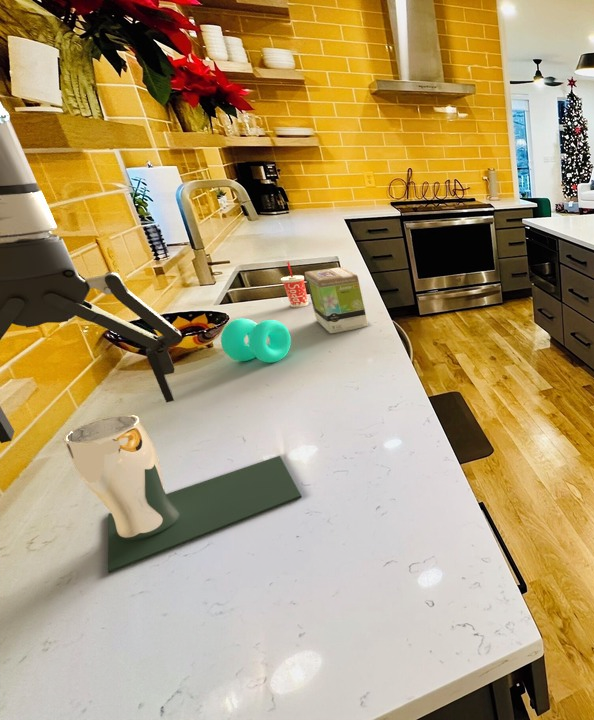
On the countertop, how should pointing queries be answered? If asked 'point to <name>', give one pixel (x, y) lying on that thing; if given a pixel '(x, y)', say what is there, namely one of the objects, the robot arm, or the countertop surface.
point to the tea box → (336, 299)
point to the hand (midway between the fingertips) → (94, 416)
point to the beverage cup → (295, 289)
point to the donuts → (256, 340)
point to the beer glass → (123, 474)
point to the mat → (210, 509)
